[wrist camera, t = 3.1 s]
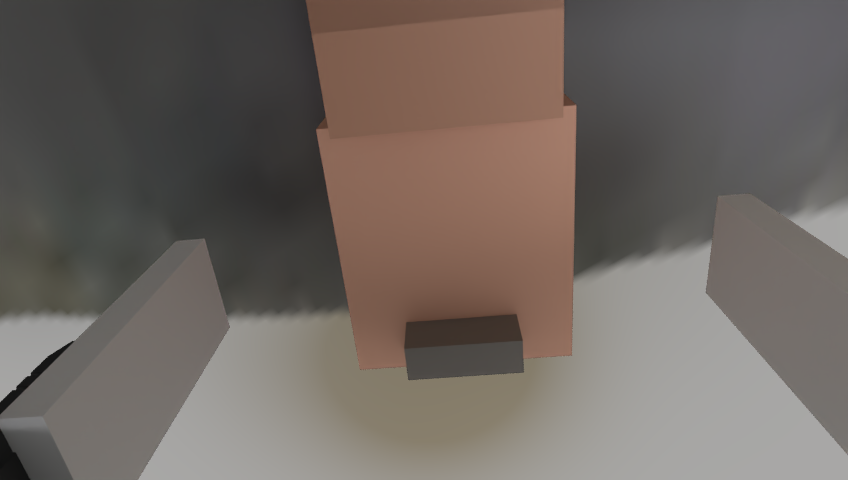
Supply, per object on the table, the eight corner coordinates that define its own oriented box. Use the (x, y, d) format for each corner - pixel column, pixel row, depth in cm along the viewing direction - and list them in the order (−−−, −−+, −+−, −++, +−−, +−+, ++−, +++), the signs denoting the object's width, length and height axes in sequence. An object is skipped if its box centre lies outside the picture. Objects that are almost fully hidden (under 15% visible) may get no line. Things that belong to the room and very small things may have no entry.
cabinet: (383, 246, 23) (354, 398, 15) (344, -24, 19) (273, -21, 11) (528, 234, 23) (582, 383, 15) (523, -44, 19) (594, -56, 10)
